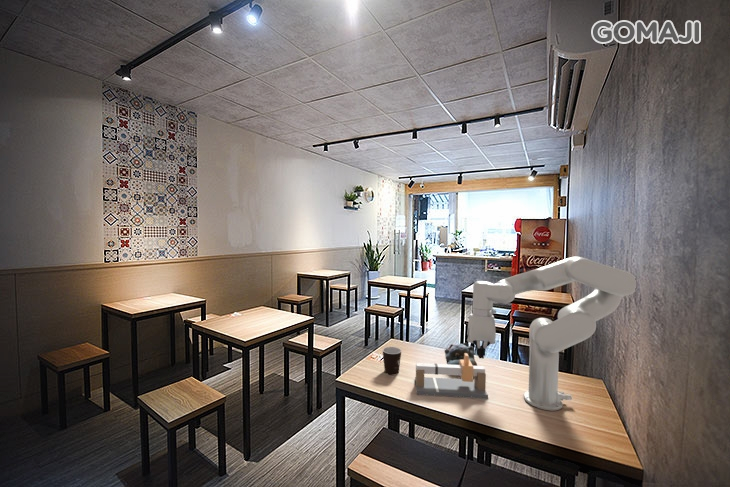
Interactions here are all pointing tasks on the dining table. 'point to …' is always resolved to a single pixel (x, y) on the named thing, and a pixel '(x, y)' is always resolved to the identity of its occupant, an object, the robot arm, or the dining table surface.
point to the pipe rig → (449, 381)
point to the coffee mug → (391, 360)
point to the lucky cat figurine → (459, 354)
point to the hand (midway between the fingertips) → (480, 357)
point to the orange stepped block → (466, 369)
